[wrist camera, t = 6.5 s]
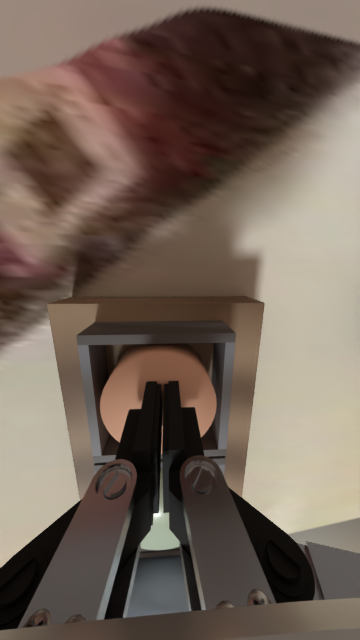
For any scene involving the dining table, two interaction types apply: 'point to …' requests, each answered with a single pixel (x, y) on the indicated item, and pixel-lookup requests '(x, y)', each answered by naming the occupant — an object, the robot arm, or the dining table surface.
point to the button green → (160, 529)
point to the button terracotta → (161, 367)
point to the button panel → (157, 328)
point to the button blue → (158, 587)
